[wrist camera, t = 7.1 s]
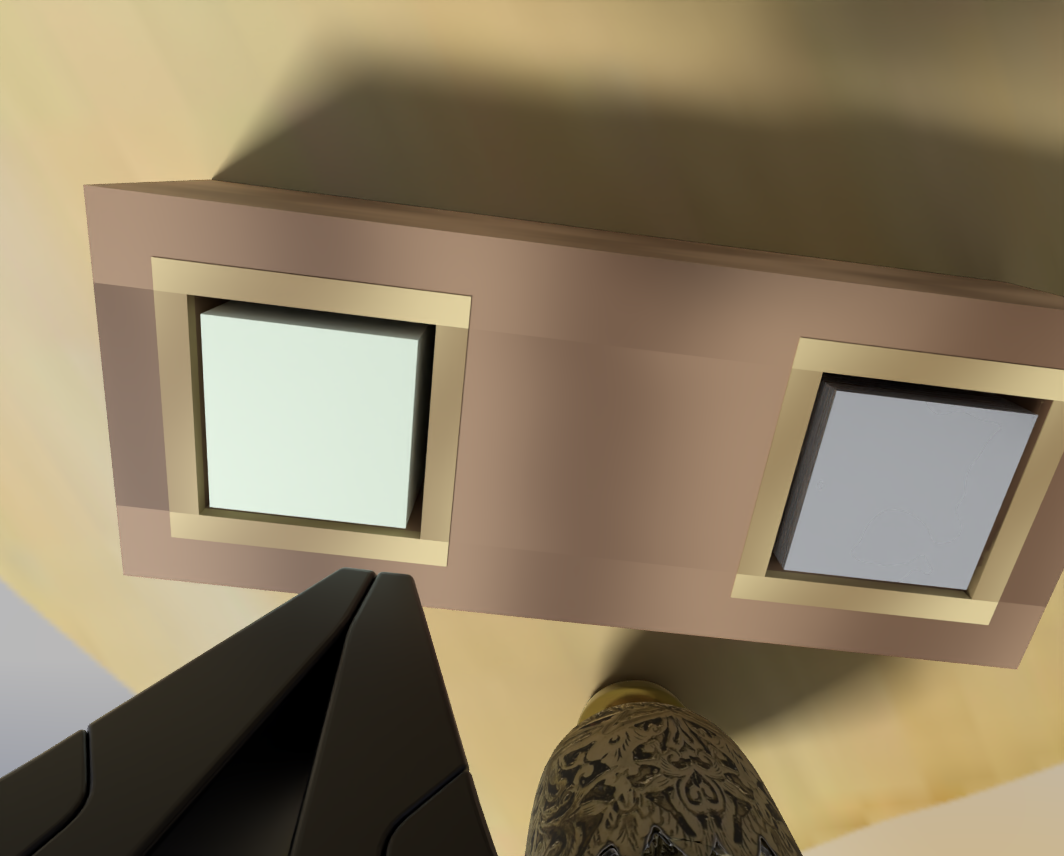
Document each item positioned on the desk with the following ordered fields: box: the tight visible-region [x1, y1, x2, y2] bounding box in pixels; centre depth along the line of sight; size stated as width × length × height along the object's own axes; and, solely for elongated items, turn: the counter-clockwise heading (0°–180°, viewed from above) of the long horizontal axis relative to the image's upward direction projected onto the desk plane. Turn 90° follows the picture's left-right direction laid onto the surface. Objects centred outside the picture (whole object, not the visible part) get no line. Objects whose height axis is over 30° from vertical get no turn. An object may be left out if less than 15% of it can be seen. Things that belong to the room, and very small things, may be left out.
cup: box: [525, 680, 803, 856], centre depth 19 cm, size 8×7×8 cm
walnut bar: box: [83, 180, 1064, 669], centre depth 16 cm, size 20×8×5 cm, turn 83°
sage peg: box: [200, 300, 436, 528], centre depth 16 cm, size 4×4×5 cm
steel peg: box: [772, 372, 1038, 590], centre depth 16 cm, size 4×4×5 cm
